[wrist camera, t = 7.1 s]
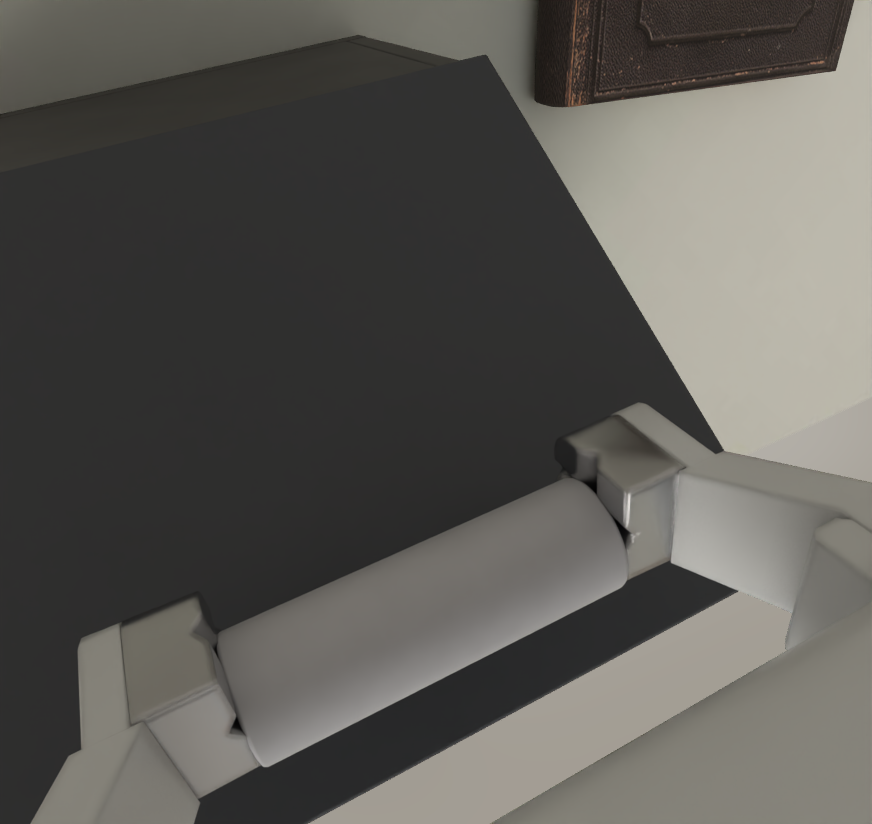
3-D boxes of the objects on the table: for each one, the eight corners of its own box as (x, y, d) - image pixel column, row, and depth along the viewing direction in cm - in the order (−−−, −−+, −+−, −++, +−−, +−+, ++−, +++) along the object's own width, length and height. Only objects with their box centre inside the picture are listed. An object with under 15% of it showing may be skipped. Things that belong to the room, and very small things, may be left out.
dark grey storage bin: (414, 344, 34) (510, 446, 27) (85, 463, 30) (96, 620, 23) (359, 34, 26) (475, 63, 19) (-103, 136, 22) (-175, 223, 15)
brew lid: (770, 567, 15) (964, 520, 10) (6, 977, 11) (-233, 1200, 6) (480, 77, 19) (528, -117, 14) (-168, 240, 15) (-397, 40, 10)
